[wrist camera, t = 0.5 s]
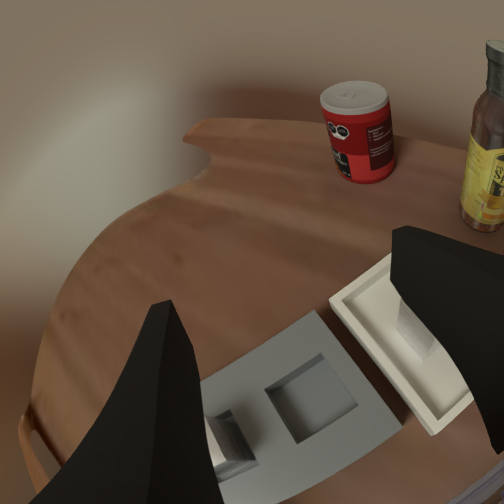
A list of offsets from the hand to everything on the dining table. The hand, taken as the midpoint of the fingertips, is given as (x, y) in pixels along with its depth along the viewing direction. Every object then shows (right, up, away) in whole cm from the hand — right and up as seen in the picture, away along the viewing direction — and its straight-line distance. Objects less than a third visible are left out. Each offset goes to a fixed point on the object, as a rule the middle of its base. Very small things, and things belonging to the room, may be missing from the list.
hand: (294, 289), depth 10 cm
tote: (+14, -6, +15) cm, 22 cm away
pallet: (0, -14, +15) cm, 21 cm away
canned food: (+14, +12, +30) cm, 35 cm away
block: (-4, -16, +14) cm, 22 cm away
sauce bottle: (+25, +5, +19) cm, 32 cm away
